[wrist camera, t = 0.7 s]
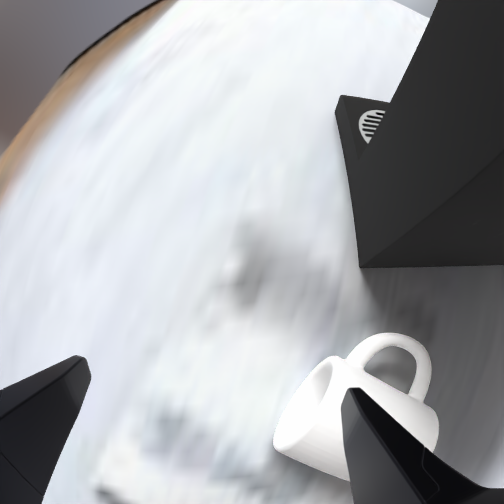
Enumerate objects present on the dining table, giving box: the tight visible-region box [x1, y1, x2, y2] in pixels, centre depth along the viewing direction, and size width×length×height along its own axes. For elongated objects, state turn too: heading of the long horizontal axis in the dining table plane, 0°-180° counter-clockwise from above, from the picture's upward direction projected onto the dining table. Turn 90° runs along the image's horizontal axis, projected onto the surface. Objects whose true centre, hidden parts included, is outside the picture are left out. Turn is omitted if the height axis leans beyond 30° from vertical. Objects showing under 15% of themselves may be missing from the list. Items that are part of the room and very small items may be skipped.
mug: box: [273, 333, 439, 482], centre depth 18 cm, size 12×10×8 cm
